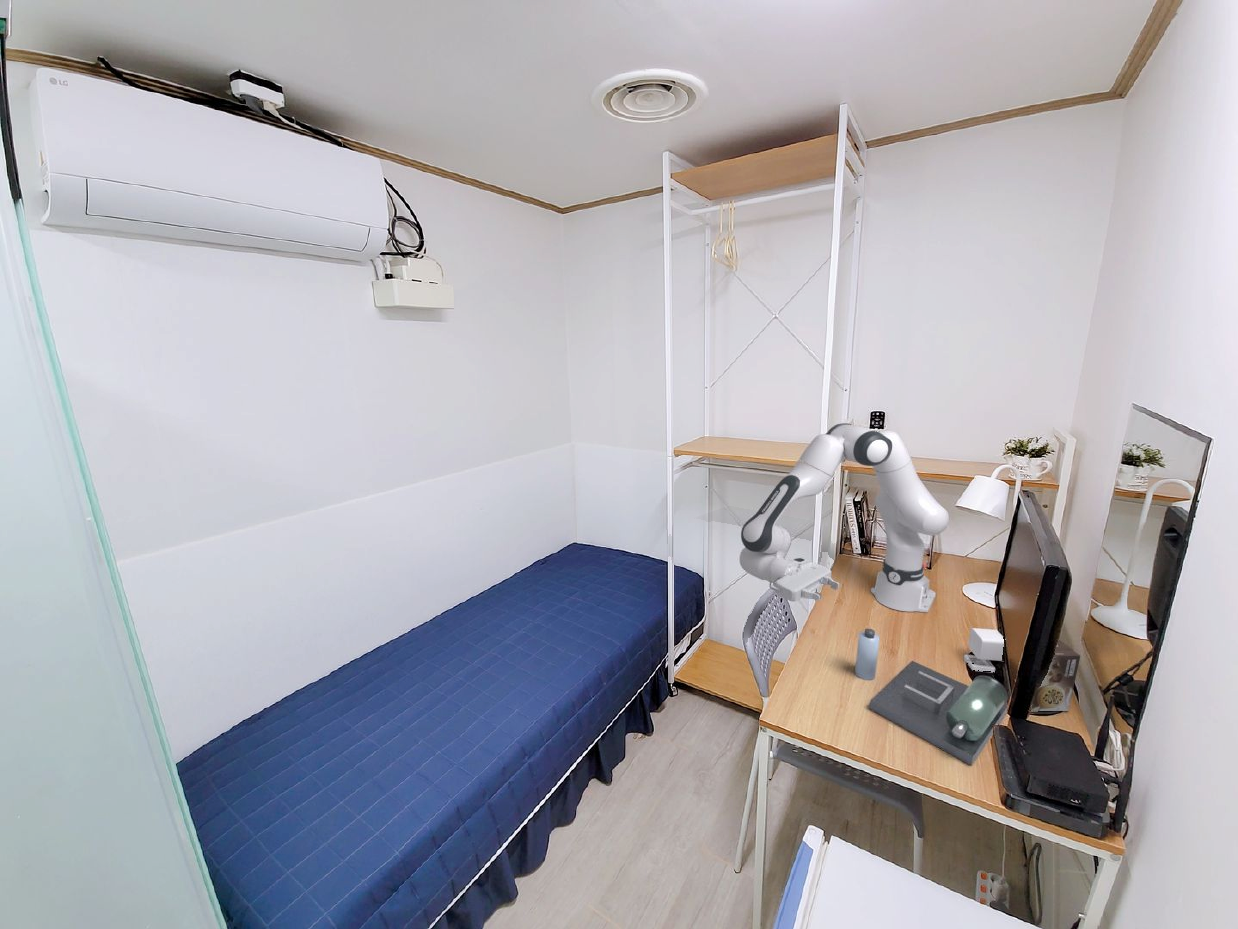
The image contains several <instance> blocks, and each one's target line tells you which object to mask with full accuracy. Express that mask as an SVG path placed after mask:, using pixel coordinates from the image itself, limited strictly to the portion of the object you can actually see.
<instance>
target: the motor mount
mask: <svg viewBox="0 0 1238 929" xmlns="http://www.w3.org/2000/svg"><path fill="white" fill-rule="evenodd" d="M1008 698H1009V694H1008V691H1007V689H1006V687H1005V686H1004V685H1003V683H1001V682H1000V681H999V680H997V679H996V678H994V677H992V676H989V675H978V676H976V677H975V678H974V679H973V680H972V681H971V682H970V684H969V685H967V684H966V683H963V682H961V681H958V680H956V679H953V678H952V677H949V676H947V675H945V674H942V673H941V672H938V671H936V670H934V669H931V668H929V667H928V666H925V665H923V664H920V663H919V662H916V661H914V660H911V661H910V662H909V663H908V664H907V665H905V667H903V669H902V670H900V671H899V672H898V673H897V674H896V675H895V677H893V678H892V679H891V680H890V681H889V682H888V683H887V684H886V685H885V686H884V687H883V688H882V689H881V690H880V691H879V692H878V693H876V694H875V695H874V696H873V698H871V699H870V700H869V709H868V710H870V711H873V713H876V714H878V715H879V716H881V717H883V718H885V719H886V720H888V721H890V722H892V723H894V724H895V725H897V726H899V727H900V728H902V729H904V730H906V731H908V732H910V733H911V734H914V735H915V736H917V737H919V738H921V739H922V740H923V741H926V742H928V743H929V744H931V745H933V746H934V747H936V748H939V749H940V748H941V750H942V749H943V750H942V751H944V752H945V753H947V754H949V755H951V756H952V757H954V758H956V759H958V760H959V761H961V760H962V762H963V761H964V762H963V763H965V764H966V765H969V766H970V767H972V766H973V764H974V763H975V761H976V759H978V757H979V756H980V754H981V753H982V751H983V749H984V748H985V747H986V745H987V744H988V742H989V741H990V739H991V738H990V737H992V736H993V735H994V733H993V726H994V725H996V724H999V725H1001V723H1002V721H1003V719H1004V718H1005V717H1006V715H1007V714H1006V711H1007V704H1008V703H1007V701H1008ZM1007 712H1008V711H1007ZM1000 722H1001V723H1000ZM992 734H993V735H992Z"/></svg>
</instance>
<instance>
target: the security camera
mask: <svg viewBox="0 0 1238 929" xmlns="http://www.w3.org/2000/svg"><path fill="white" fill-rule="evenodd" d="M1003 637H1004V636H1003V635H1002V634H1001V633H1000V632H999V631H998V630H997V629H990V628H980V627H979V628H978V627H977V628H975V627H971V628H970V634H969V638H968V645H967V646H968V648H969V649H970V651H971V652H972V653H973V654H974V655H973V654H964V655H963V659H964V661H965V662H966V664H967V663H968V664H967V665H968V667H969V668H970V669H971V670H972V671H973V670H975V672H983V671H991V672H990V673H993V672H994V673H995V671H996V667H995V666H994V665H993V663H992V662H991V661H997V662H998V661H999V662H1003V661H1002V655H1003V647H1004V639H1003ZM972 663H974V664H972ZM978 670H979V671H978Z"/></svg>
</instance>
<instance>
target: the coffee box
mask: <svg viewBox="0 0 1238 929" xmlns="http://www.w3.org/2000/svg"><path fill="white" fill-rule="evenodd" d="M1057 640H1058V644H1057V646H1056V649H1055V655H1054V657H1053V659H1052V662H1051V665H1050V667H1049V670H1048V673H1047V675H1046V676H1045V678H1044V680H1043V681H1042V684H1041V686H1040V687H1039V688H1038V689H1037V692H1036V696H1035V699H1034V701H1033V704H1032V705H1031V711H1029V712H1031V713H1039V712H1038V711H1066V710H1068V711H1069V710H1070V706H1071V705H1070V704H1071V700H1072V696H1073V691H1074V687H1075V682H1076V677H1077V674H1078V669H1079V664H1080V659H1081V655H1080V654H1079V653H1078V652H1076V651H1075V650H1074V649H1072V648H1071V647H1070V646H1069V645H1068V644H1066V643H1065V642H1063V641H1062V640H1060V639H1057Z"/></svg>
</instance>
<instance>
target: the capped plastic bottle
mask: <svg viewBox="0 0 1238 929" xmlns="http://www.w3.org/2000/svg"><path fill="white" fill-rule="evenodd" d="M880 640H881V639H880V636H879V635H878V633H876V632H875V630H874V629H873V628H865V629H864V630H862V631H860V632H859V633H858V639H857V641H858V642H857V648H856V652H857V653H856V657H855V658H856V660H855V669H854V675H856V676H857V677H858V678H859V679H861V680H865V681H873V680H875V678H876V672H877V665H878V664H877V663H878V655H879V649H880V648H879V646H880Z"/></svg>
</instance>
